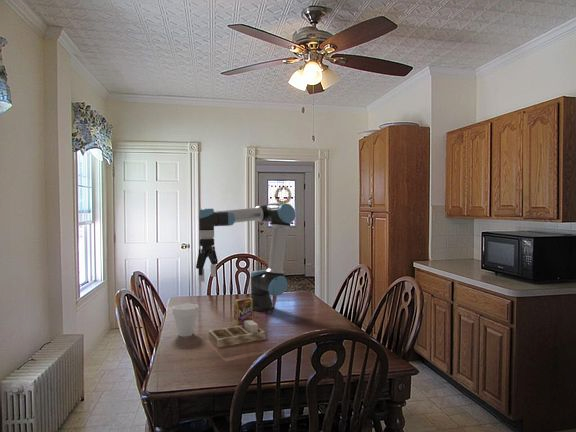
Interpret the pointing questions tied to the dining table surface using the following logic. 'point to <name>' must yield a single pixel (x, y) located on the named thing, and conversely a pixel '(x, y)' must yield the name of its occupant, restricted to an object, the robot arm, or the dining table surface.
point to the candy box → (242, 310)
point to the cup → (185, 318)
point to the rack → (234, 336)
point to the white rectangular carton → (250, 326)
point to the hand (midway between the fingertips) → (207, 279)
